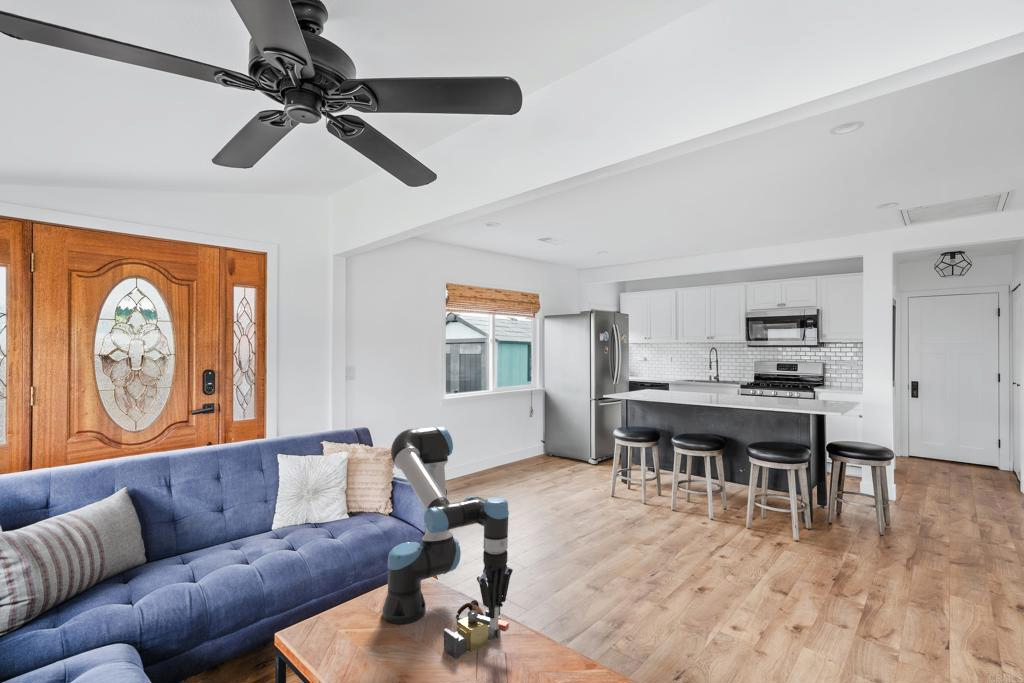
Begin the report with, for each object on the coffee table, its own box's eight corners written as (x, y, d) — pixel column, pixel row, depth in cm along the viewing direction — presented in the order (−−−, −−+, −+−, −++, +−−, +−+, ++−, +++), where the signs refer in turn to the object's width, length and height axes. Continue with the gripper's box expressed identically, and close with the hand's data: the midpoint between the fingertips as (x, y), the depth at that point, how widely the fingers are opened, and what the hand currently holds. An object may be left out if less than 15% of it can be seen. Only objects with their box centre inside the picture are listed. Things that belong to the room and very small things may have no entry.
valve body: (443, 649, 156) (443, 627, 156) (487, 628, 168) (487, 607, 168) (456, 660, 150) (456, 636, 150) (501, 637, 162) (501, 615, 163)
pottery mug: (487, 634, 165) (475, 616, 163) (462, 644, 166) (450, 626, 165) (490, 607, 176) (479, 589, 175) (467, 616, 178) (456, 599, 176)
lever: (465, 621, 158) (465, 614, 158) (471, 616, 161) (471, 609, 161) (504, 633, 152) (504, 625, 152) (509, 628, 155) (509, 620, 155)
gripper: (487, 558, 147) (485, 640, 146) (518, 548, 156) (517, 625, 155) (471, 551, 153) (470, 629, 152) (503, 541, 161) (501, 615, 160)
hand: (494, 627), depth 153 cm, fingers closed
